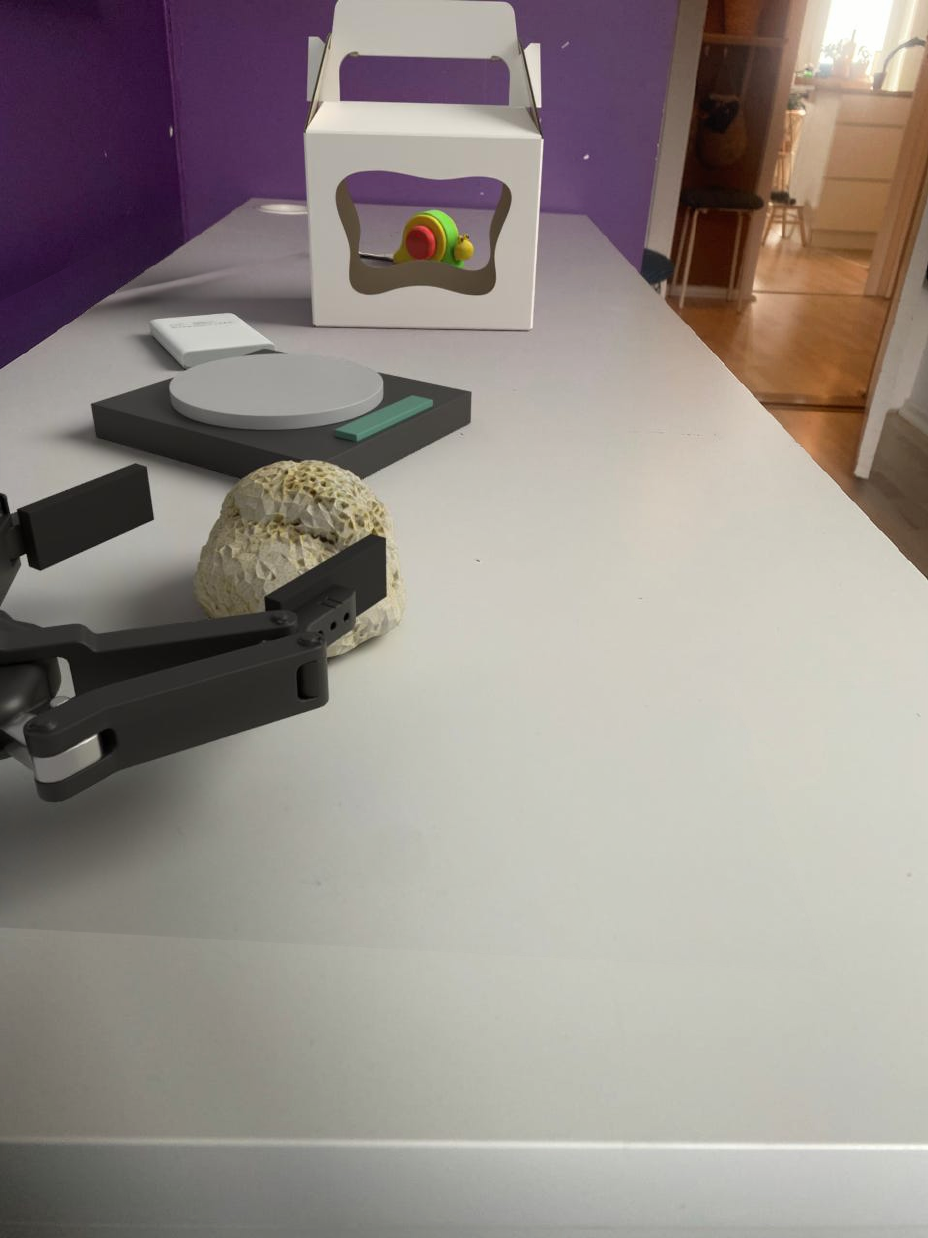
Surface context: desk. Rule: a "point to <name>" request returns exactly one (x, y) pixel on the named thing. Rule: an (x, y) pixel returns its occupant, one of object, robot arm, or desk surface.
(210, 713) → the robot arm
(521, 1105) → the desk surface
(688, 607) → the desk surface
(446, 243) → the toy measuring tape
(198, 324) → the hard drive
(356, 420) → the scale
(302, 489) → the decorative item
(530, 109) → the gable box
